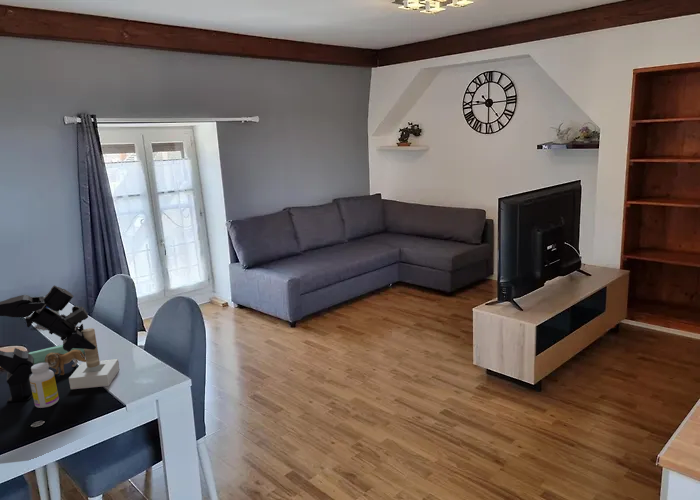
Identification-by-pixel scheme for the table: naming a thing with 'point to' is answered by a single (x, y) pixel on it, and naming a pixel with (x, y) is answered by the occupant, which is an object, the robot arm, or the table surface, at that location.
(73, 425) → the table surface
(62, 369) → the lion figurine
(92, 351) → the peg
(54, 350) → the container
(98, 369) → the socket
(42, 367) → the supplement bottle
